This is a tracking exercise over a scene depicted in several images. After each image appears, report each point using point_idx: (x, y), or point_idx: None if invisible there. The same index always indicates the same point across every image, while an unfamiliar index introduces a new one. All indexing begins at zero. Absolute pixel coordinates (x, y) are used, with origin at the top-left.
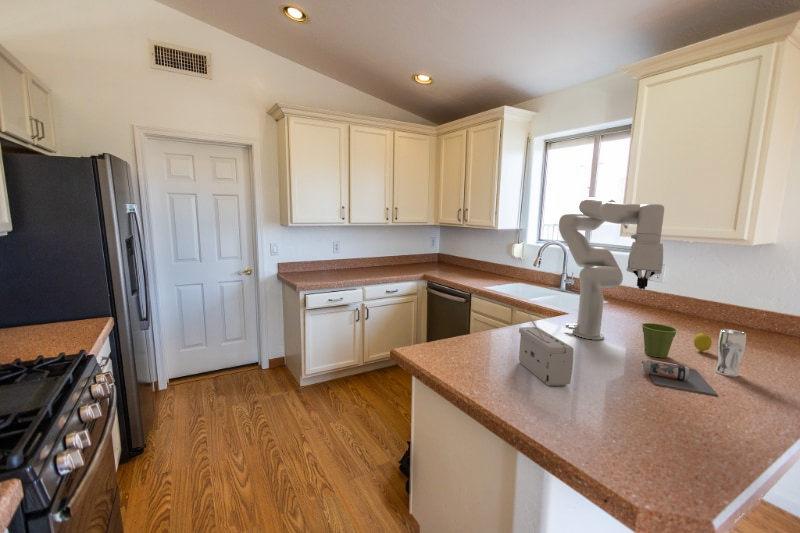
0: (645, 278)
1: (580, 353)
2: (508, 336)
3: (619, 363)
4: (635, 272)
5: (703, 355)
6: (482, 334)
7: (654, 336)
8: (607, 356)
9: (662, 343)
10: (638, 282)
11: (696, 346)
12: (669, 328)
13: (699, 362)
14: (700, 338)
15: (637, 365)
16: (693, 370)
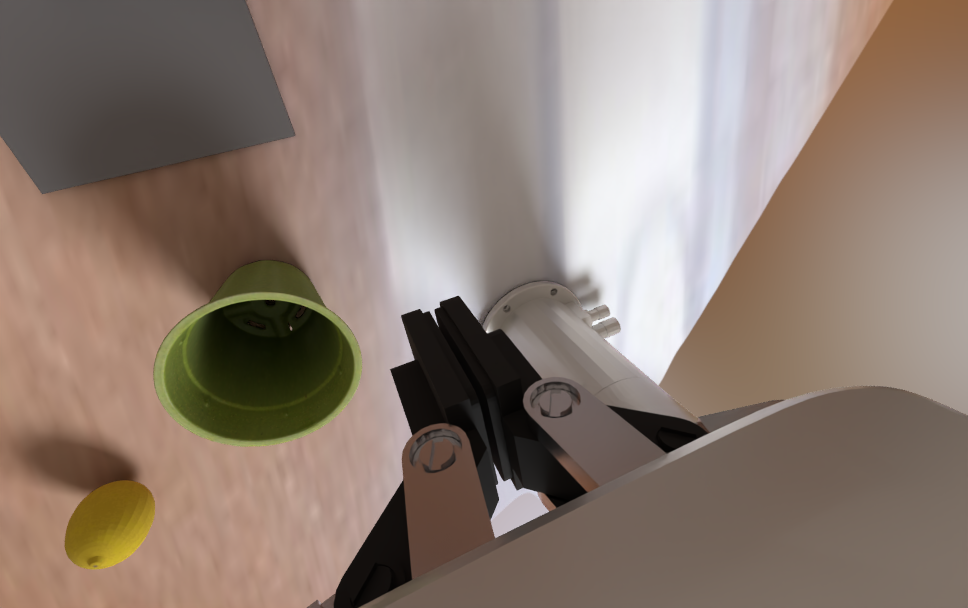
0: (457, 421)
1: (540, 65)
2: (778, 88)
3: (378, 35)
4: (667, 427)
5: (102, 448)
6: (858, 39)
7: (273, 288)
8: (438, 110)
9: (231, 287)
10: (512, 354)
11: (137, 485)
12: (224, 427)
13: (81, 342)
14: (109, 520)
15: (303, 67)
16: (46, 170)
